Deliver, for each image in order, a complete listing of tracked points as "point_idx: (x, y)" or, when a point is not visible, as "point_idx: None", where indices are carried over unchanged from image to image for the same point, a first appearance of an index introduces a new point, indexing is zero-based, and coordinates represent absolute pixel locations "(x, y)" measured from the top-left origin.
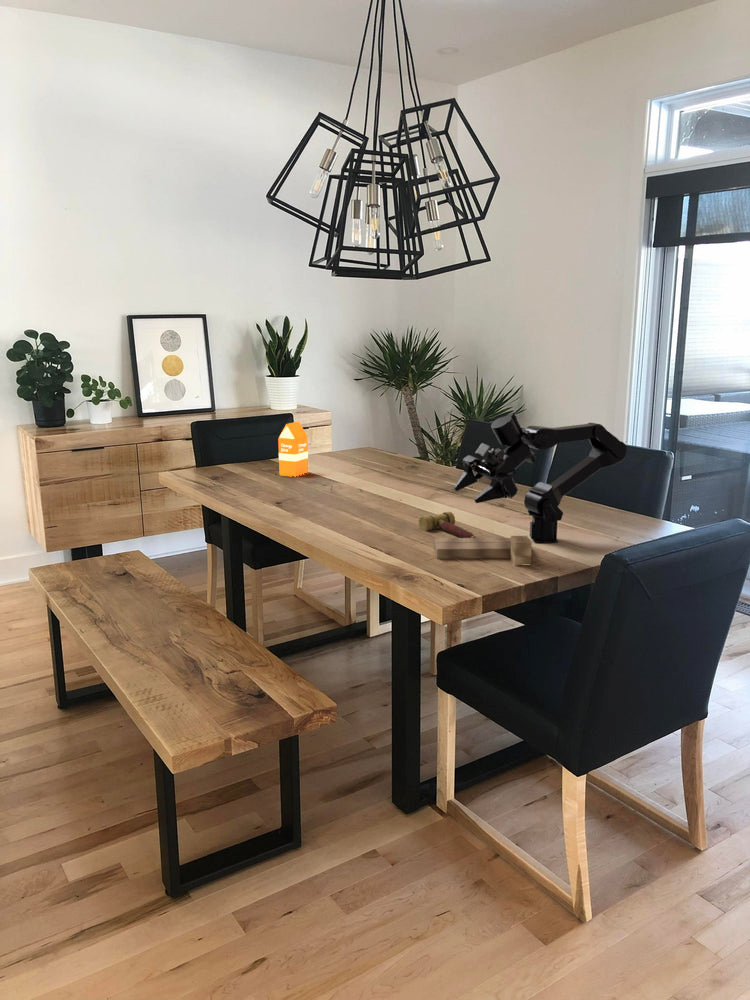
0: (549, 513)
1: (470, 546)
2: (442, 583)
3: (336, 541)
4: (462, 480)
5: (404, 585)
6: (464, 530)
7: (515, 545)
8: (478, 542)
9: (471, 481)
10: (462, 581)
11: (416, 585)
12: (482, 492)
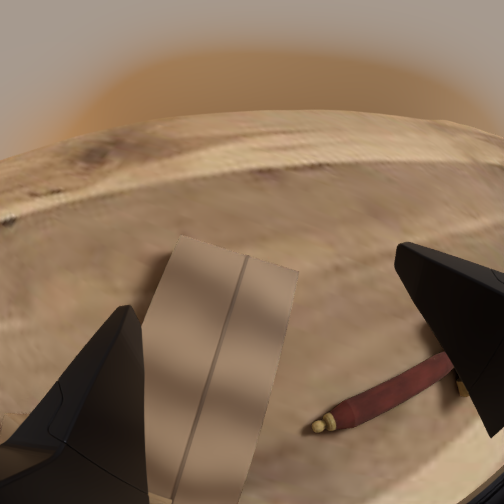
0: None
1: (165, 343)
2: (34, 196)
3: (363, 138)
4: (460, 283)
5: (69, 143)
6: (378, 402)
7: (10, 414)
8: (202, 393)
9: (481, 384)
10: (19, 234)
11: (56, 157)
12: (94, 361)
